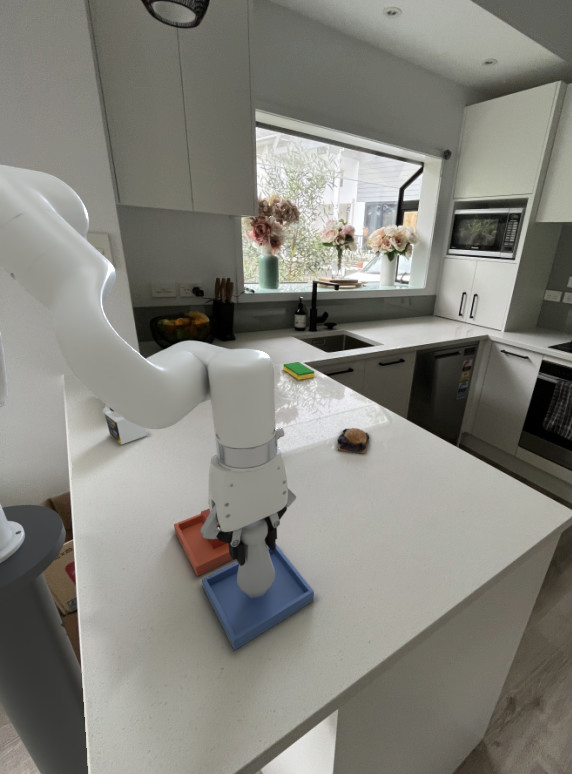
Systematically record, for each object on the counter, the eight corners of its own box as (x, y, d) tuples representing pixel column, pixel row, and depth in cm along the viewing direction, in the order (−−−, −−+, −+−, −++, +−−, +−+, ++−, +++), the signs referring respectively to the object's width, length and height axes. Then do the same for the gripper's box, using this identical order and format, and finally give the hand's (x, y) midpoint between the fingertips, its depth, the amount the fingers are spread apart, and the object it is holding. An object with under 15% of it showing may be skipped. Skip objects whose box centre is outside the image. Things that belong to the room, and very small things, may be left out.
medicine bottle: (109, 435, 102) (99, 395, 97) (136, 426, 107) (128, 388, 102) (121, 445, 98) (111, 403, 93) (148, 435, 103) (140, 395, 98)
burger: (341, 431, 110) (342, 420, 108) (370, 435, 108) (371, 424, 107) (334, 450, 100) (335, 438, 98) (366, 454, 99) (367, 442, 97)
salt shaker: (282, 581, 60) (281, 518, 55) (260, 609, 56) (255, 543, 50) (253, 566, 63) (249, 504, 57) (230, 592, 58) (222, 528, 53)
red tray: (197, 576, 62) (195, 567, 62) (175, 532, 71) (173, 524, 70) (268, 542, 70) (267, 533, 69) (240, 506, 79) (239, 498, 78)
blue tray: (234, 650, 52) (233, 641, 51) (203, 588, 60) (201, 579, 60) (313, 600, 59) (313, 591, 58) (275, 551, 68) (275, 542, 67)
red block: (213, 549, 67) (210, 527, 65) (203, 532, 71) (200, 511, 69) (239, 537, 70) (237, 516, 68) (229, 521, 74) (226, 501, 71)
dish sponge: (298, 366, 159) (298, 361, 158) (314, 377, 149) (314, 371, 148) (283, 369, 156) (282, 363, 155) (298, 380, 145) (298, 374, 144)
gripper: (288, 418, 56) (289, 515, 63) (170, 452, 46) (188, 561, 54) (317, 440, 51) (315, 542, 58) (190, 483, 41) (207, 599, 49)
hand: (254, 550), depth 56 cm, fingers closed on salt shaker, 4 cm apart
